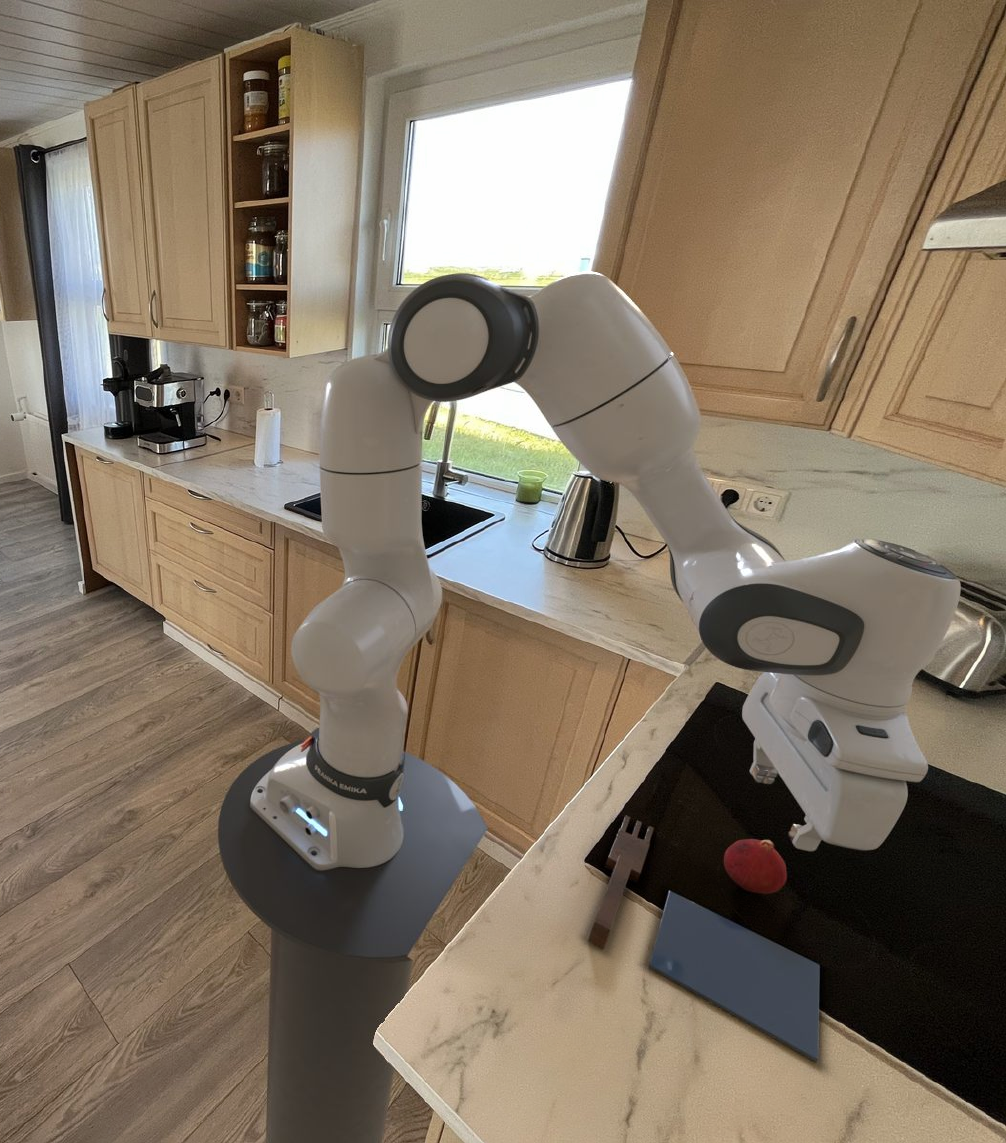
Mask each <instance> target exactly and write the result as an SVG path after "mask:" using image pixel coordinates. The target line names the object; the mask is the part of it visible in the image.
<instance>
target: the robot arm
mask: <svg viewBox="0 0 1006 1143" xmlns="http://www.w3.org/2000/svg"><path fill="white" fill-rule="evenodd" d="M512 383H515V384H516V385H518V386H519V387H520V388H522V390H523V391H525V393H527V395H528V396H529V397H530V398H531V399H532V401H533V402H534V403H535V405H536V406H537V408H538V409H539V412H540V413H541V414H542V416H543V417H544V419H545V420H546V422H547V423H548V425H549V426H550V428H551V429H552V431H553V432H554V434H555V435H556V437H557V438H558V439H559V441H560V442H561V444H562V445H563V446H564V447H565V448H566V449H567V451H568V452H569V453H570V454H571V456H573V457H574V458H575V460H576V461H577V462H578V463H579V464H580V465H582V466H583V467H584V468H585V469H586V471H587V472H589V473H590V474H591V475H592V476H593V477H594V478H596V479H598V480H602V481H606V482H611V483H616V484H619V485H621V486H622V487H624V488H625V489H626V490H627V491H628V492H629V493H631V495H632V496H634V498H635V499H636V500H637V502H638V504H639V505H640V506H641V508H642V509H643V511H644V512H645V514H646V516H647V517H648V518H649V520H650V521H651V523H652V524H653V526H654V527H655V529H656V530H657V531H658V533H659V534H660V536H661V538H662V539H663V540H664V542H665V545H666V546H667V548H668V549H667V550H668V551H669V573H670V580H671V581H670V582H671V584H672V587H673V590H674V592H675V593H676V595H677V596H678V598H679V599H680V601H681V602H682V603H683V605H684V608H685V610H686V611H687V612H686V613H687V614H688V615H689V616H688V617H689V618H690V620H691V623H692V625H693V626H694V629H695V631H696V632H697V635H698V637H699V639H700V641H701V642H702V643H703V646H704V648H706V650H707V651H708V652H709V653H710V654H711V655H713V656H714V657H715V658H716V659H718V660H719V661H721V662H723V663H725V664H727V665H729V666H731V667H733V668H734V667H735V668H737V669H741V670H746V671H753V672H761V675H760V676H759V677H758V678H757V679H756V681H755V683H754V684H753V686H752V688H751V689H750V691H749V693H748V695H747V697H746V699H745V701H744V703H743V705H742V710H741V717H742V720H743V722H744V724H745V725H746V727H747V728H748V730H749V731H750V733H751V734H752V736H753V738H754V741H753V756H752V757H753V760H752V761H753V762H752V763H751V766H750V769H749V773H750V775H751V776H752V777H753V779H754V781H755V783H758V784H765V785H772V784H774V782H775V779H777V776H779V777H780V778H781V779H782V781H783V783H784V784H785V786H786V787H787V789H788V790H789V792H790V793H791V795H792V796H793V798H794V799H795V800H796V802H797V804H798V806H799V807H800V808H801V810H802V811H803V813H804V814H805V816H804V817H803V820H804V822H805V824H804V825H801V824H795V823H792V825H791V827H790V831H788V833H787V835H788V838H789V839H790V841H791V843H792V845H793V847H795V848H796V849H798V850H802V851H807V852H815V851H816V850H817V849H818V847H819V845H820V844H821V842H822V841H823V842H825V843H826V844H829V845H833V846H837V847H842V848H846V849H851V850H857V851H872V850H876V849H878V848H879V847H880V846H881V845H882V844H883V843H884V842H885V840H886V839H887V838H888V836H889V835H890V833H891V832H892V830H893V828H894V827H895V825H896V824H897V822H898V820H899V818H900V817H901V815H902V813H903V811H904V809H905V806H906V804H907V801H908V795H909V792H908V785H907V782H909V783H920V782H921V781H923V779H924V778H925V777H926V775H927V773H928V770H929V765H928V761H927V759H926V757H925V756H924V754H923V751H922V750H921V748H920V746H919V744H918V742H917V740H916V738H915V736H914V733H913V730H912V728H911V724H910V720H909V716H908V715H907V713H906V712H905V711H904V710H905V709H906V707H907V705H908V703H909V702H910V700H911V697H912V695H913V694H912V692H913V683H914V680H915V679H916V676H917V675H918V674H919V673H920V672H921V671H922V670H923V669H924V668H926V667H927V666H928V665H929V664H930V663H931V662H932V661H933V659H934V657H935V656H936V654H937V652H938V650H939V649H940V647H941V645H942V644H943V641H944V639H945V637H946V635H947V633H948V631H949V629H950V627H951V624H952V621H953V619H954V618H955V614H956V612H957V608H958V606H959V601H960V597H961V590H962V589H961V588H962V586H961V585H962V584H961V582H960V580H959V578H958V576H957V575H956V574H955V573H954V572H953V571H952V570H950V569H949V568H948V567H947V566H946V565H944V564H943V563H941V562H940V561H937V560H936V559H934V558H933V557H931V556H929V555H927V554H924V553H921V552H919V551H916V550H915V549H912V548H909V547H907V546H903V545H899V544H898V543H894V542H889V541H886V540H885V541H884V540H880V539H873V538H872V539H868V538H865V539H864V538H858V539H854V540H852V541H850V542H849V543H847V544H846V545H843V546H842V547H839V548H837V549H833V550H830V551H827V552H823V553H821V554H816V555H812V556H808V557H803V558H799V559H793V560H785V557H784V556H783V555H782V553H781V552H780V551H779V549H778V547H776V546H775V545H774V543H772V542H771V541H770V540H768V539H767V538H766V537H764V536H762V535H761V534H759V533H758V532H755V531H754V530H752V529H751V528H748V527H747V526H744V524H741V523H739V522H738V521H737V520H736V519H735V518H734V517H733V516H732V515H731V514H730V512H729V511H728V509H727V508H726V506H725V505H724V503H723V502H722V500H721V498H720V496H719V495H718V494H717V491H716V490H715V489H714V486H712V484H711V482H710V481H709V479H708V477H707V476H706V474H705V473H704V471H703V470H702V468H701V466H700V464H699V461H698V459H697V456H696V452H695V444H696V443H695V442H696V440H697V439H698V437H699V434H700V432H701V429H702V424H703V418H702V414H701V411H700V407H699V406H698V402H697V399H696V397H695V393H694V391H693V388H692V386H691V383H690V381H689V379H688V377H687V375H686V373H685V372H684V370H683V368H682V366H681V364H680V363H679V361H678V358H676V356H675V355H674V353H673V352H672V350H671V348H670V347H669V345H668V344H667V342H666V340H665V339H664V338H663V336H662V335H661V333H660V332H659V331H658V330H657V328H656V327H655V326H654V324H653V323H652V321H650V319H649V318H648V317H647V316H646V314H645V313H644V312H643V311H642V310H641V308H640V307H639V306H638V305H637V304H636V303H635V302H634V301H633V300H632V299H631V298H630V297H629V296H628V295H627V293H625V292H624V291H623V290H622V289H621V288H620V287H619V286H618V285H617V284H616V283H615V282H614V281H612V279H610V278H609V277H608V276H606V275H604V274H602V273H599V272H595V271H582V272H577V273H576V272H575V273H572V274H569V275H565V276H563V277H559V278H558V279H556V280H554V281H552V282H550V283H548V284H547V285H545V286H544V287H542V288H541V289H539V290H538V291H536V292H535V293H533V294H531V295H528V296H526V295H524V294H521V293H519V292H516V291H513V290H511V289H509V288H506V287H503V286H502V285H498V284H496V283H494V282H492V281H491V280H489V279H487V278H485V277H484V276H481V275H478V274H473V273H467V272H466V273H465V272H458V273H450V274H449V273H448V274H444V275H440V276H437V277H434V278H431V279H429V280H427V281H425V282H424V283H422V284H420V285H419V286H417V287H416V288H415V289H414V290H412V291H411V292H410V293H409V294H408V295H407V296H406V297H405V298H404V300H402V302H401V304H400V305H399V306H398V308H397V310H396V311H395V313H394V315H393V317H392V319H391V322H390V324H389V329H388V335H387V347H386V349H385V350H384V351H382V352H379V353H376V354H369V355H361V356H358V357H355V358H352V359H349V360H347V361H345V362H343V363H342V364H341V365H339V366H337V367H336V368H335V369H334V370H333V371H332V372H331V373H330V375H329V376H328V378H327V380H326V383H325V385H324V391H323V397H322V403H321V404H322V405H321V412H320V421H319V436H318V437H319V438H318V439H319V441H318V446H319V447H318V460H319V461H318V464H319V486H320V488H319V489H320V508H321V509H320V511H321V528H322V532H323V535H324V536H325V538H326V539H327V540H328V542H330V543H331V544H332V545H333V546H335V547H337V548H338V551H339V553H340V556H341V559H342V562H343V567H344V579H343V583H342V585H341V587H339V589H337V590H336V591H335V592H333V593H332V594H330V595H329V596H328V597H326V598H325V599H324V600H322V601H321V602H320V603H318V604H317V605H315V606H314V607H313V609H312V610H311V611H310V612H309V613H308V615H307V616H306V617H305V619H304V620H303V621H302V623H301V624H300V625H299V627H298V629H297V630H296V631H295V633H294V634H293V637H292V640H291V647H290V648H291V649H290V651H291V653H290V654H291V659H292V662H293V665H294V668H295V669H296V672H297V674H298V675H299V677H300V678H301V679H302V681H303V682H304V683H305V684H306V685H307V686H308V687H309V688H310V689H311V690H312V691H314V692H316V693H317V694H318V696H319V704H320V705H319V726H318V727H316V728H315V729H313V731H311V732H310V733H309V737H308V738H306V739H305V740H306V741H303V740H302V739H301V740H299V741H300V743H299V744H298V745H297V746H296V747H294V748H293V749H291V750H290V751H288V752H287V753H286V754H285V755H284V756H282V757H281V758H280V759H279V761H278V762H277V763H276V764H275V766H274V767H273V769H271V770H270V771H269V772H268V773H267V774H266V775H265V776H264V777H263V778H262V779H261V780H260V781H259V782H258V784H257V785H256V787H255V788H254V790H253V792H252V795H251V801H250V807H251V808H252V809H253V810H254V811H255V812H256V813H257V814H258V815H259V816H260V817H261V818H262V819H263V820H264V821H265V822H266V823H267V824H268V825H269V826H270V827H271V828H272V829H273V830H274V831H275V832H276V833H278V834H279V835H280V836H281V837H282V838H283V839H284V840H285V841H286V842H287V843H288V844H289V845H290V846H291V847H292V848H293V849H294V850H295V851H296V852H297V853H298V854H299V855H300V856H301V857H303V858H304V859H305V860H306V861H307V862H308V863H309V864H310V865H311V866H312V867H313V868H314V869H316V870H329V869H333V868H336V867H351V868H368V867H374V866H377V865H380V864H383V863H385V862H387V861H388V860H390V859H391V858H392V857H394V856H395V855H396V853H397V852H398V851H399V849H400V848H401V845H402V842H403V837H404V831H403V826H402V822H401V818H400V811H402V809H403V805H402V803H401V800H400V798H399V794H400V791H401V788H402V783H403V777H404V774H403V772H404V762H405V753H404V752H405V750H404V745H405V736H406V728H407V723H408V721H407V720H408V713H409V707H408V703H407V701H406V699H405V697H404V695H403V694H402V692H401V691H400V690H399V689H398V675H399V672H400V668H401V666H402V664H403V662H404V660H405V658H406V657H407V655H408V654H409V652H410V651H411V650H412V649H413V648H414V647H415V646H416V645H417V643H418V642H420V640H422V638H423V637H424V636H425V635H426V634H427V633H428V632H429V631H430V630H431V628H432V627H433V624H434V623H435V620H436V618H437V616H438V613H439V611H440V608H441V606H442V602H443V587H442V584H441V582H440V579H439V577H438V575H437V574H436V573H435V572H434V570H433V569H432V568H431V567H430V564H429V559H428V556H427V551H426V547H425V541H424V536H423V525H422V524H423V523H422V516H423V515H422V514H423V513H422V508H423V507H422V502H423V500H422V498H423V497H422V496H423V495H422V494H423V493H422V492H423V491H422V490H423V489H422V488H423V486H422V485H423V432H424V424H425V418H426V415H427V412H428V410H429V408H430V406H431V405H432V404H433V403H434V402H438V403H449V402H456V401H457V402H458V401H462V400H465V399H469V398H472V397H474V396H478V395H480V394H482V393H485V392H488V391H491V390H494V389H497V388H500V387H504V386H506V385H509V384H512ZM399 809H400V810H399ZM312 854H315V856H313V855H312Z"/></svg>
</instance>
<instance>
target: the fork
mask: <svg viewBox="0 0 1006 1143" xmlns="http://www.w3.org/2000/svg"><path fill="white" fill-rule="evenodd" d="M630 820H631V817H630V816H628V815H624V819H623V821H622V824H621V827H620V828H619V829H618V831H617V834H616V836H615V839H614V841H613V844H612V845H611V849H610V852H609V853H608V857H607V859H606V863H605V865H604V868H605V869H607V870H609V871H611V872H612V873H611V876H610V879H609V881H608V884H607V887H606V890H605V893H604V896H603V898H602V900H601V903H600V905H599V908H598V912H597V913H596V916H595V919H594V922H593V925H592V927H591V930H590V933H589V936H588V939H587V940H588V942H590V943H592V944H593V945H594V946H597V947H598V948H600V949H601V950H604V949H605V947H606V944H607V941H608V938H609V936H610V933H611V930H612V927H613V925H614V922H615V919H616V916H617V912H618V910H619V908H620V905H621V901H622V898H623V895H624V893H625V889H626V887H627V883H628V880H629V881H631V882H633V883H635V884H638V882H639V878H640V876H641V873H642V871H643V867H644V864H645V862H646V859H647V855H648V851H649V848H650V845H651V842H650V841H651V840H652V839H651V838H652V837H653V832H654V829H655V827H653V826H651V825H648V827H647V830H646V833H645V835H644V839H642V838H640V837H638V836H639V833H640V830H641V827H642V824H643V822H642V821H639V820H636V822H635V825H634V828H633V831H632V832H631V833H629V832H627V829H628V826H629V824H630Z"/></svg>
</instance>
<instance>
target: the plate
mask: <svg viewBox="0 0 1006 1143" xmlns="http://www.w3.org/2000/svg"><path fill="white" fill-rule="evenodd" d="M648 968H649V969H651V970H653V971H655V972H656V973H658V974H660V975H661V976H663V977H665V978H666V979H668V980H670V981H672V982H673V983H675V984H677V985H678V986H680V987H682V988H684V989H685V990H688V991H690V992H691V993H693V994H695V995H697V996H699V997H700V998H702V999H704V1000H705V1001H707V1002H709V1003H711V1004H713V1005H714V1006H716V1007H718V1008H720V1009H722V1011H725V1012H727V1013H729V1014H730V1015H732V1016H734V1017H735V1018H736V1019H739V1020H741V1021H742V1022H744V1023H746V1024H747V1025H750V1026H751V1027H753V1028H755V1029H757V1030H758V1031H760V1032H761V1033H764V1034H765V1035H767V1036H769V1037H771V1038H772V1039H774V1040H776V1041H777V1042H779V1043H781V1044H782V1045H784V1046H786V1047H788V1048H790V1049H792V1050H793V1051H795V1052H797V1053H799V1054H801V1055H802V1056H804V1057H806V1058H808V1059H809V1060H811V1061H812V1062H815V1063H817V1062H818V1061H819V1042H820V1040H819V1039H820V1037H819V1036H820V1035H819V1034H820V974H821V972H820V970H821V969H820V968H821V965H820V964H819V963H817V962H814V961H813V960H812V959H809V958H807V957H804V956H803V955H801V954H798V953H796V952H794V951H792V950H790V949H788V948H787V947H784V946H783V945H780V944H778V943H776V942H774V941H773V940H770V939H768V938H766V937H764V936H762V935H761V934H758V933H756V932H754V931H752V930H750V929H748V928H746V927H744V926H742V925H740V924H739V923H736V922H734V921H732V920H730V919H728V918H726V917H723V916H722V915H719V914H718V913H717V912H716V913H715V912H713V911H712V910H710V909H708V908H705V906H704V907H703V906H702V905H699V904H698V903H696V902H694V901H691V900H689V899H687V898H686V897H683V896H681V895H679V894H677V893H675V892H673V891H672V890H668V893H667V895H666V900H665V904H664V907H663V912H662V915H661V919H660V923H659V926H658V930H657V933H656V936H655V941H654V945H653V949H652V952H651V956H650V960H649V963H648Z"/></svg>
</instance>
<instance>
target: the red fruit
mask: <svg viewBox="0 0 1006 1143" xmlns="http://www.w3.org/2000/svg"><path fill="white" fill-rule="evenodd" d="M723 866H724V869H725V871H726V873H727V874H728V876H729V877H730V879H731V880H732V881H733V882H734V883H735V884H737V885H738V886H739V887H741V888H742V890H745V891H746V892H751V893H754V894H755V893H756V894H762V895H769V894H770V895H771V894H774V893H778V892H779V891H780V890H781V889H782V887H783V886H784V885H785V884H786V883H787V878H788V873H787V866H786V862H785V860H784V859H783V858H782V856H781V854H779V852H778V851H777V849H775V844H774V843H773V842H772V841H771V840H770V839H763V840H760V839H755V838H744V839H739V840H736V841H735V842H733V844H731V845H730V846H728V847H727V848H726V850H725V852H724V855H723Z"/></svg>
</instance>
